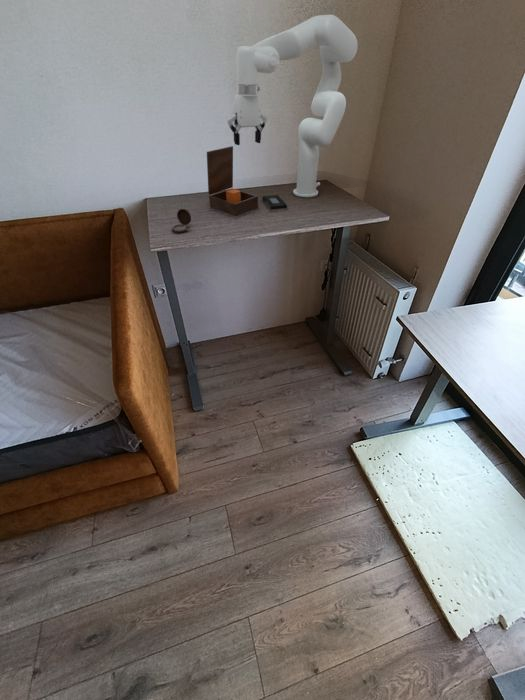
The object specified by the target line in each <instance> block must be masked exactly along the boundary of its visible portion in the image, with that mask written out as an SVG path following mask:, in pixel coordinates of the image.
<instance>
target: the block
mask: <svg viewBox="0 0 525 700" xmlns="http://www.w3.org/2000/svg"><path fill="white" fill-rule="evenodd" d="M231 189H232V188H231ZM235 189H236V188H233V189H232V190H228V189H227V190H228V191H226V197H227V201H228V202H231V203H234V204H235V203H238V202H241V193H240V191H241V190H240V191H238V190H239V189H236V190H235Z"/></svg>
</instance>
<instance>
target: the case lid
mask: <svg viewBox="0 0 525 700" xmlns="http://www.w3.org/2000/svg"><path fill="white" fill-rule="evenodd" d="M206 168H207V169H206V170H207V190H208V191H207V192H208V196H210V195H213V194H216V193H219V192H222V191H225V190H228V189H232V188H233V189H234V186H233V185H234V146H233V145H231V146H226V147H221V148H217V149H213V150H208V151H206Z"/></svg>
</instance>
